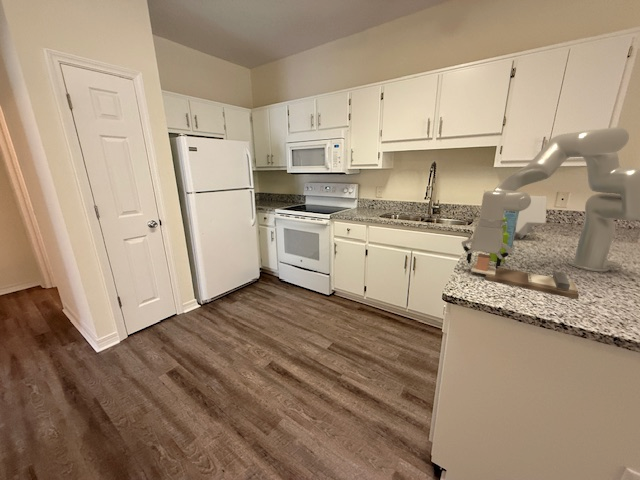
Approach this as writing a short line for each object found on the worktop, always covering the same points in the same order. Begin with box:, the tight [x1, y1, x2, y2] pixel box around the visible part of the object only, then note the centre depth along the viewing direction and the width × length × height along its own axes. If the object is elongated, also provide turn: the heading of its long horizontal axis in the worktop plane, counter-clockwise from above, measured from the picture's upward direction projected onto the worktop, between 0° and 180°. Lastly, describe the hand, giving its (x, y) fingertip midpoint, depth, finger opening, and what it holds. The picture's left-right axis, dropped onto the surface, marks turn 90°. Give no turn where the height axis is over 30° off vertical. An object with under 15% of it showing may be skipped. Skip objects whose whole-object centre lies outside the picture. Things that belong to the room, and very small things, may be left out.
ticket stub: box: [470, 253, 496, 276], centre depth 106 cm, size 8×10×6 cm
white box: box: [503, 195, 548, 240], centre depth 160 cm, size 20×16×25 cm
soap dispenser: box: [489, 217, 509, 263], centre depth 120 cm, size 6×7×20 cm
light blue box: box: [504, 210, 519, 251], centre depth 135 cm, size 20×5×23 cm, turn 140°
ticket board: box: [485, 266, 580, 300], centre depth 98 cm, size 26×14×4 cm, turn 54°
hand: (482, 264), depth 106 cm, fingers open, 9 cm apart
